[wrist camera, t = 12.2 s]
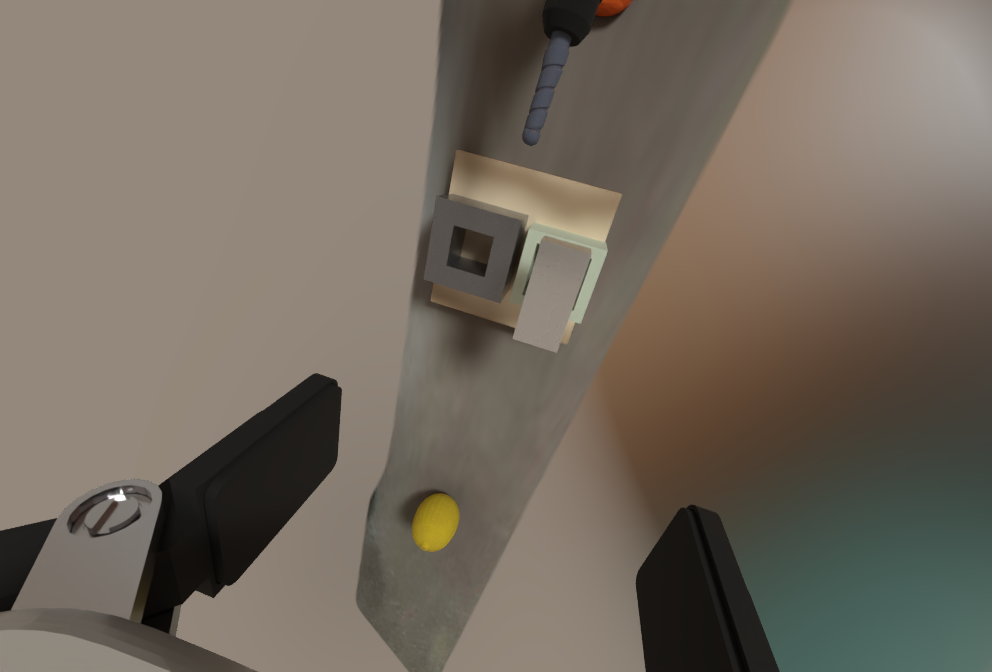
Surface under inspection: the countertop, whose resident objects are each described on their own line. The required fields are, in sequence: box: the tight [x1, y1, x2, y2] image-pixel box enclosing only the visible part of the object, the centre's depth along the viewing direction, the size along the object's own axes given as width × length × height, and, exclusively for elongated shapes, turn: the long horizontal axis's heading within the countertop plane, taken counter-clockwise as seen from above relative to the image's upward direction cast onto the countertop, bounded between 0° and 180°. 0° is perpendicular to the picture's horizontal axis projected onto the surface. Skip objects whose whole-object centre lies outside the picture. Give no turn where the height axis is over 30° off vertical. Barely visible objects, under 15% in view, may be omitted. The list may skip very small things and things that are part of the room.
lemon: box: [412, 493, 459, 552], centre depth 47 cm, size 6×6×8 cm
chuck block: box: [423, 194, 529, 303], centre depth 32 cm, size 7×7×4 cm
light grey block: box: [513, 235, 592, 353], centre depth 29 cm, size 7×3×10 cm, turn 166°
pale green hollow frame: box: [509, 222, 608, 324], centre depth 32 cm, size 6×6×4 cm
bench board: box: [430, 150, 622, 344], centre depth 35 cm, size 14×14×2 cm
